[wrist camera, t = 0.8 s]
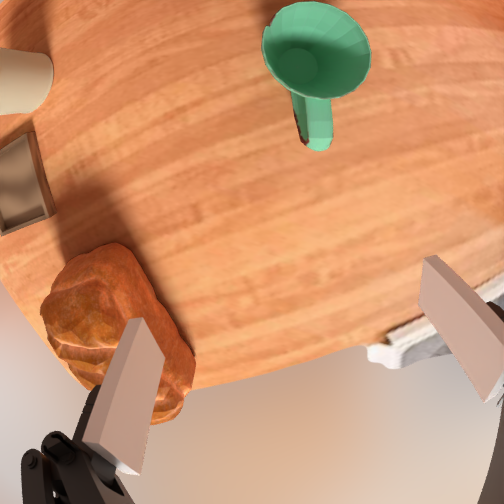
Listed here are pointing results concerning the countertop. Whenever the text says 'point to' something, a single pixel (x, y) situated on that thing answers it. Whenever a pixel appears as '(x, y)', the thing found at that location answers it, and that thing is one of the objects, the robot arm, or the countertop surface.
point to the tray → (23, 185)
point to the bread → (113, 322)
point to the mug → (315, 63)
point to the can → (23, 80)
